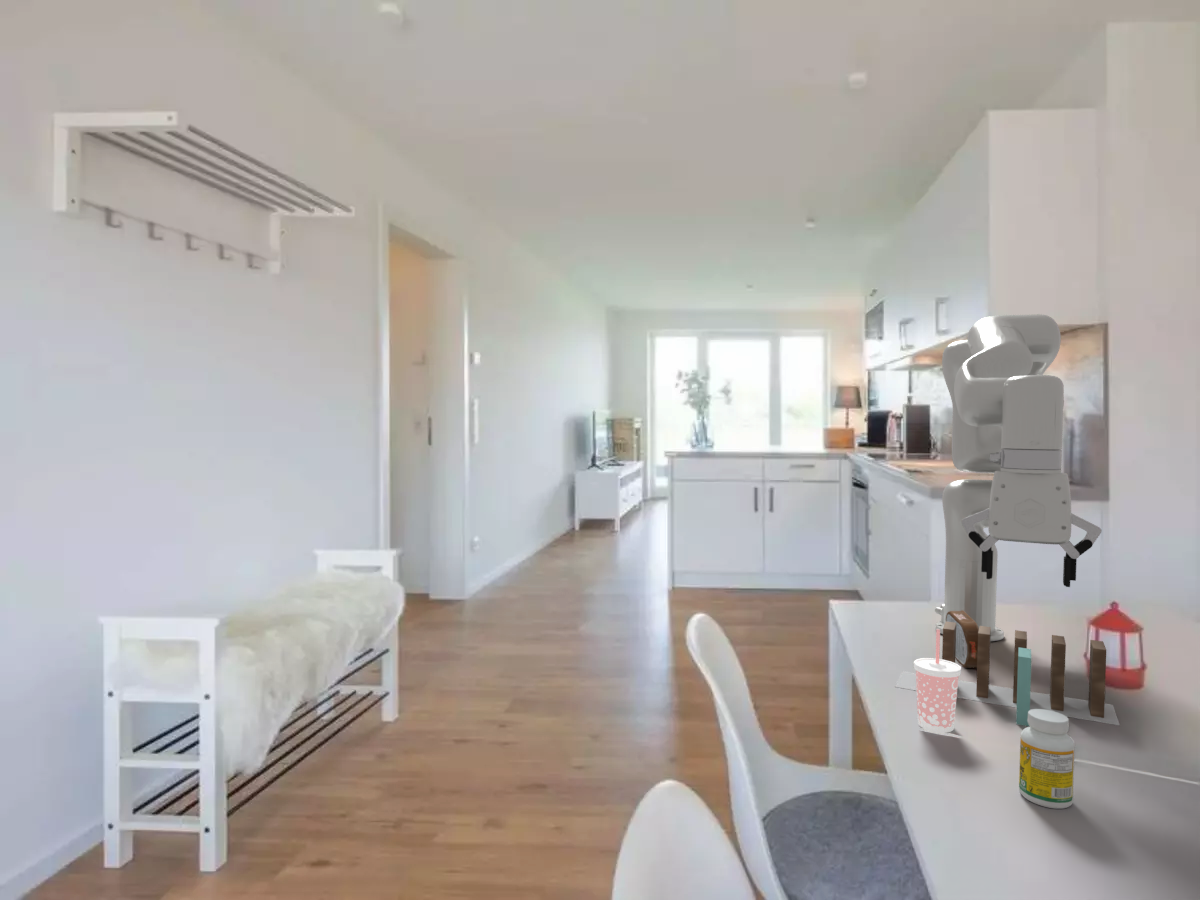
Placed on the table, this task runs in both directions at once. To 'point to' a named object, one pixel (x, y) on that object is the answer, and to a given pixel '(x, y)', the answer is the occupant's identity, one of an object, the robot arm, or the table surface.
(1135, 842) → the table surface
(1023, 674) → the domino
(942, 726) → the beverage cup
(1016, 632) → the domino
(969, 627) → the tin
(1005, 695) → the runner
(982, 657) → the domino
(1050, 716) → the supplement bottle
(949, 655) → the domino
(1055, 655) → the domino
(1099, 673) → the domino
